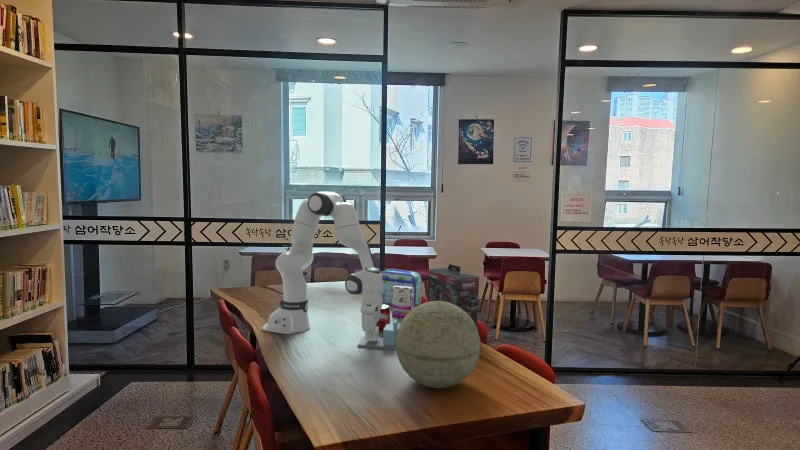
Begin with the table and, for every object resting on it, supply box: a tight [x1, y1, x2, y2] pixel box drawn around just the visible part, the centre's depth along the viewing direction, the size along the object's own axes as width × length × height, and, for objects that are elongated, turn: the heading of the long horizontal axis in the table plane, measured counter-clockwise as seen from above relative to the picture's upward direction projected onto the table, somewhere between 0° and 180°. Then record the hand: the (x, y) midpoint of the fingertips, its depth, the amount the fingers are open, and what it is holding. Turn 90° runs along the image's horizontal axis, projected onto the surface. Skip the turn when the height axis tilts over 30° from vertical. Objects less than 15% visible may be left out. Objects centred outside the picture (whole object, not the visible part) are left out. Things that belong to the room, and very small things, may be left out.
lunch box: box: [381, 267, 423, 307], centre depth 269 cm, size 26×11×21 cm, turn 58°
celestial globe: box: [395, 301, 481, 389], centre depth 163 cm, size 30×30×30 cm
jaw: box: [364, 326, 380, 341], centre depth 204 cm, size 5×5×5 cm
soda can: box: [376, 304, 391, 334], centre depth 222 cm, size 7×7×12 cm
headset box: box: [427, 263, 480, 328], centre depth 219 cm, size 25×12×33 cm, turn 32°
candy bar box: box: [391, 285, 415, 319], centre depth 246 cm, size 11×5×16 cm, turn 68°
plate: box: [357, 335, 396, 351], centre depth 204 cm, size 16×11×5 cm
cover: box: [382, 319, 399, 346], centre depth 202 cm, size 5×8×10 cm, turn 171°
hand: (371, 334), depth 204 cm, fingers closed on jaw, 5 cm apart
